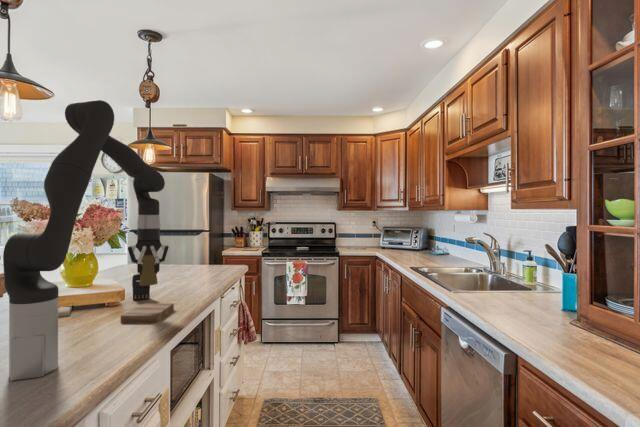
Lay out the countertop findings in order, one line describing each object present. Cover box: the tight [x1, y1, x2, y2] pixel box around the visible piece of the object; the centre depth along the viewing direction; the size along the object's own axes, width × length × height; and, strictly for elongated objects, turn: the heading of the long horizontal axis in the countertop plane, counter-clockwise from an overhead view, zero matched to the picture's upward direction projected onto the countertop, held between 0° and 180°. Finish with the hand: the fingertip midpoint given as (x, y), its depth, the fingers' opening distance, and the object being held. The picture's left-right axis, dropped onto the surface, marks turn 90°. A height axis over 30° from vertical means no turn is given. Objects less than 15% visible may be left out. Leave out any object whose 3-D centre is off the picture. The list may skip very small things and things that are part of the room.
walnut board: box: [120, 303, 175, 324], centre depth 131 cm, size 16×12×2 cm
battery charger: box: [131, 272, 151, 301], centre depth 155 cm, size 7×4×11 cm, turn 111°
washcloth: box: [58, 307, 73, 318], centre depth 135 cm, size 12×18×3 cm, turn 32°
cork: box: [139, 254, 158, 286], centre depth 131 cm, size 6×6×11 cm
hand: (148, 273), depth 131 cm, fingers closed on cork, 4 cm apart
